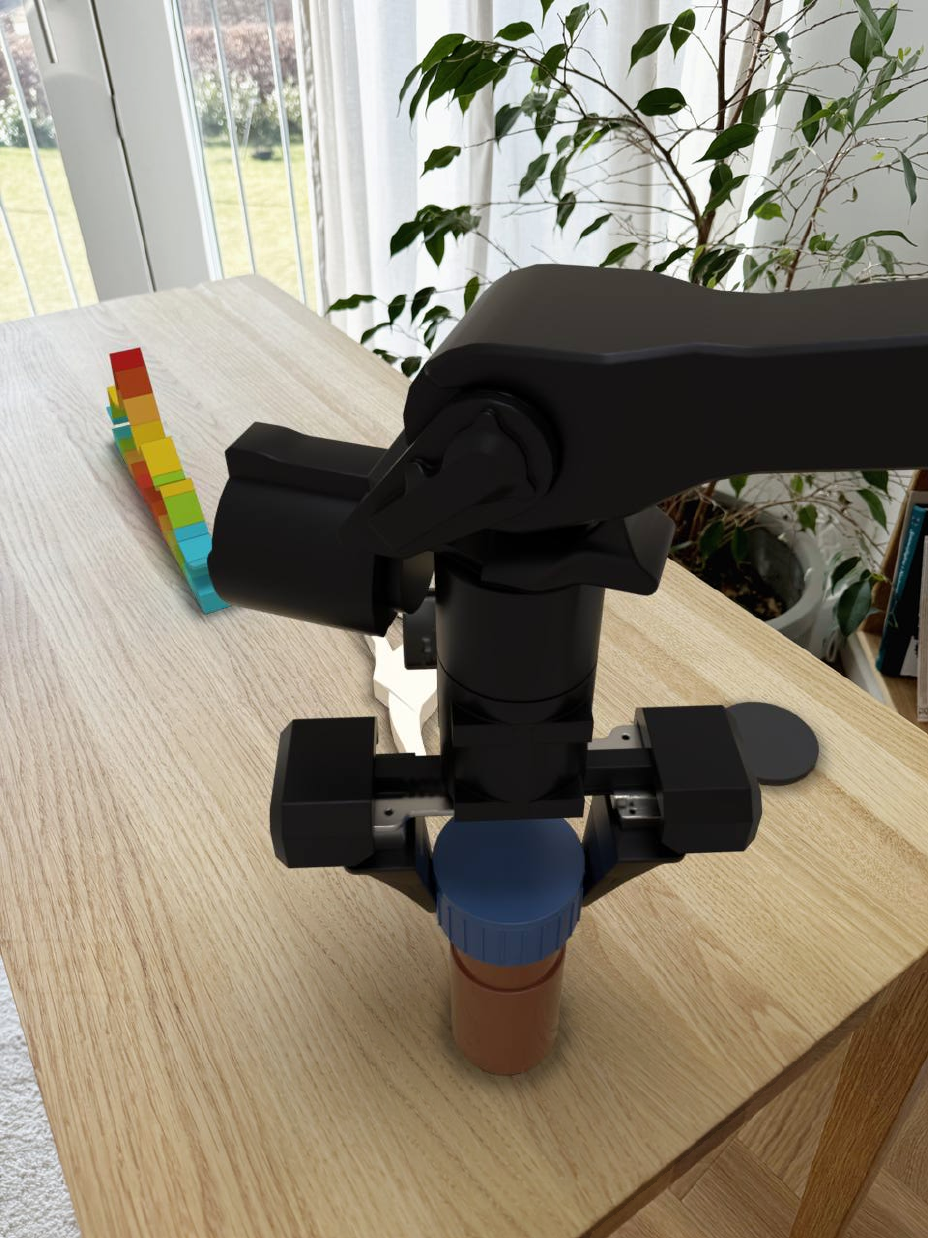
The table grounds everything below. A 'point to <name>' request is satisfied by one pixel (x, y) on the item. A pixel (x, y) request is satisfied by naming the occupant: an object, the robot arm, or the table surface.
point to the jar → (505, 1010)
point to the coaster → (776, 742)
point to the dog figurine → (403, 694)
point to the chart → (160, 473)
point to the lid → (508, 887)
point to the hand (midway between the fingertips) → (507, 901)
